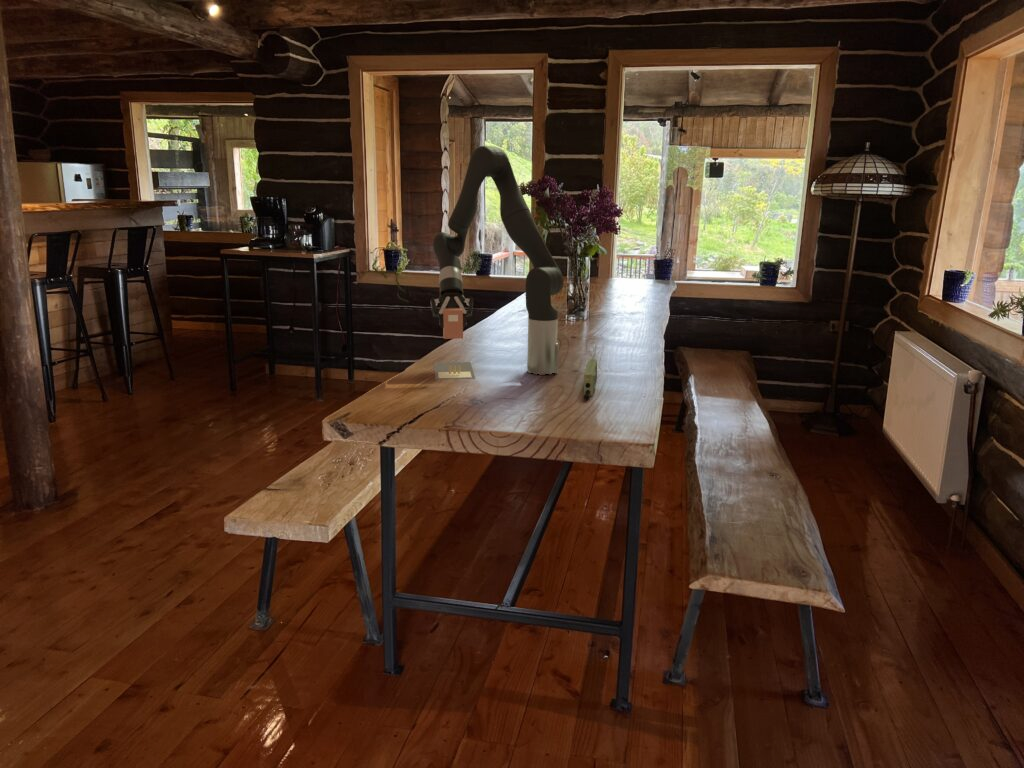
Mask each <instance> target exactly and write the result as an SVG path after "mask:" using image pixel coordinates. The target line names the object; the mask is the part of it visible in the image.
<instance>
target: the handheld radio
mask: <svg viewBox="0 0 1024 768" xmlns="http://www.w3.org/2000/svg"><path fill="white" fill-rule="evenodd" d="M585 367H586V368H585V371H584V374H583V395H584V397H583V398H584V400H586V401H587V400H589V398H590V397H591V396H593V395H594V392H595V390H596V386H597V380H598V370H597V369H598V359H596V358H589V360H588V361H587V363H586V366H585Z"/></svg>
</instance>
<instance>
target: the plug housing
mask: <svg viewBox="0 0 1024 768" xmlns="http://www.w3.org/2000/svg"><path fill="white" fill-rule="evenodd" d="M443 321H444V328H442V329H443V330H442V332H443V333H442V334H443V336H442V337H443V339H444V340H448V339H450V340H453V339H460V340H461V339H464V327H463V310H462V308H445V309H444V308H443Z"/></svg>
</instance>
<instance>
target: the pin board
mask: <svg viewBox="0 0 1024 768" xmlns="http://www.w3.org/2000/svg"><path fill="white" fill-rule="evenodd" d="M472 366H473V365H472V363H471V361H456V362H454V361H451V362H449V361H445V362H444V361H443V362H442V361H441V362H433V369H434V370H433V371H434V380H436V381H438V380H441V381H442V380H475V379H476V375H475V372H474V369H473V367H472Z"/></svg>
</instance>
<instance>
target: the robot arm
mask: <svg viewBox="0 0 1024 768" xmlns="http://www.w3.org/2000/svg"><path fill="white" fill-rule="evenodd" d="M486 177H489V178H491V179H492V180H493V183H494V184H495V187H496V189H497V192H498V194H499V199H500V200H499V214H500V219H501V222H502V224H503V226H504V229H505V230H506V232H507V235H508V237H509V238H510V239H511V241H512V242H513V244H515V245H516V246H517V247H518V248H519V249H520V250H521V251H522V252H523V253H524V254H525V255H526V257H527V258H528V260H530V263H531V265H532V267H533V268H532V269H530V271H529V272H527V275H526V277H525V306H526V307H525V309H526V310H527V311H526V312H527V313H528V314H527V315H528V317H527V323H528V325H527V366H526V367H527V368H526V369H527V371H528V372H527V373H529V374H531V373H533V374H532V375H537V374H539V375H540V376H546V375H545V374H549V375H553V374H552V373H555V374H558V370H559V368H558V367H559V343H558V325H559V324H558V323H559V322H558V321H559V312H558V309H557V308H555V307H554V306H552V299H551V298H552V296H556V295H558V294H560V293H561V292H562V290H563V289H564V283H565V282H564V276H563V274H562V271H561V268H560V267H559V266H558V264H557V262H556V261H555V259H554V257H553V256H552V254H551V253H550V250H549V248H548V247H547V245H546V242H545V241H544V238H543V236H542V235H541V232H540V230H539V228H538V225H537V224H536V222H535V219H534V216H533V215H532V213H531V210H530V208H529V206H528V205H527V202H526V200H525V198H524V195H523V193H522V191H521V189H520V187H519V184H518V182H517V179H516V176H515V173H514V171H513V168H512V164H511V162H510V160H509V156H508V155H507V153H506V151H505V150H503V148H500V147H498V146H491V145H481V146H478V147H475V149H474V150H473V152H472V153H471V156H470V159H469V163H468V166H467V170H466V173H465V176H464V179H463V184H462V187H461V190H460V194H459V196H458V199H457V202H456V204H455V206H454V208H453V211H452V212H451V215H450V217H449V219H448V222H447V227H449V229H450V230H451V231H452V232H454V233H456V235H453V234H451V233H447V232H443V231H442V232H441V231H440V232H438V233H436V235H435V236H434V238H433V241H432V249H433V252H434V255H435V257H436V260H437V262H438V264H439V265H438V266H439V269H438V270H439V277H438V278H439V279H438V284H439V297H438V298H435V297H431V298H430V307H431V311H432V313H431V314H432V317H433V318H438V325H439V327H441V328H442V329H443V328H444V321H443V308H444V309H445V308H462V310H463V328H465V327H466V326H467V325H468V324H467V323H468V317H472V316H473V307H474V297H473V296H470V297H469V298H466V297H465V296H464V287H463V286H464V283H463V275H462V269H461V268H462V267H461V265H462V264H461V260H460V258H459V257H461V256H462V254H463V253H464V251H465V247H466V239H467V235H468V231H469V229H470V226H471V225H472V223H473V220H474V218H475V217H476V213H477V210H478V209H477V208H478V195H479V191H480V187H481V186H482V183H483V182H484V180H485V179H486ZM465 303H466V306H468V308H467V309H468V310H466V309H465V307H464V304H465ZM438 304H440V306H441V307H440V309H439V311H438V309H437V306H438ZM539 375H538V376H539Z"/></svg>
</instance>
